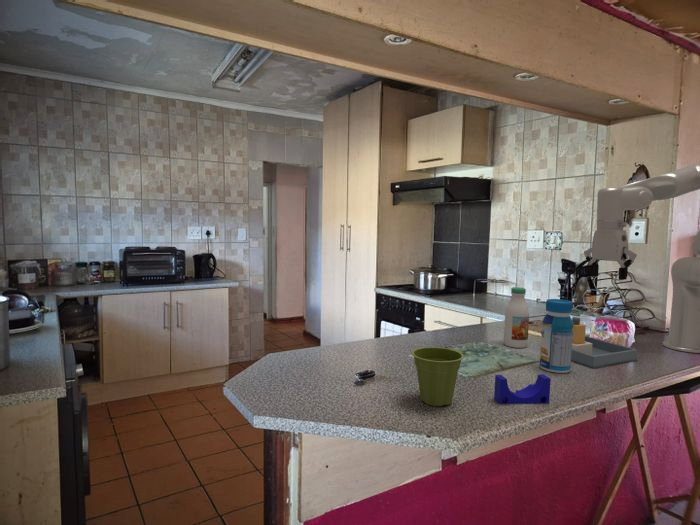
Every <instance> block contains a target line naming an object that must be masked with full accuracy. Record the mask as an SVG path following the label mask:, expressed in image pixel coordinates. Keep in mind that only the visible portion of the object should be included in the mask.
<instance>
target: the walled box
mask: <svg viewBox="0 0 700 525" xmlns="http://www.w3.org/2000/svg"><path fill="white" fill-rule="evenodd" d="M638 350H639V349H636V348H633V347H628V346H625V345H620V344H617V343H614V342H609V341H606V340H602V339H598V338H594V337H591V336H587V335H585V344H578V345H576V344H572V353H571V362H572V363H576V364H579V365H582V366H585V367H587V368H590V369H599V368H604V367H610V366H616V365H621V364H628V363H632V362H637V360H638Z"/></svg>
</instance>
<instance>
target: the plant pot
mask: <svg viewBox="0 0 700 525" xmlns="http://www.w3.org/2000/svg"><path fill="white" fill-rule="evenodd" d="M411 355H412V356H413V359H414V364H415V368H416V373H417V374H416V375H417V381H418V389H419V390H418V391H419V395H420V400H421V402H424V403H425V404H426V405H428V406H434V407H442V406H445V405H446V406H449V405H451V404H452V402H453V399H454V393H455V388H456V384H457V377H458V373H459V369H460V368H461V363H462V360H463V359H464V357H465V356H464V354H463V353H462V352H461V351H459V350H457V349H453V348H447V347H440V346H439V347H436V346H429V347H428V346H426V347H420V348H419V347H418V348H415V349H413V350H412V351H411Z"/></svg>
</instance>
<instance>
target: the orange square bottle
mask: <svg viewBox="0 0 700 525" xmlns="http://www.w3.org/2000/svg"><path fill="white" fill-rule="evenodd" d="M571 319H572V321H573V325H574V327H573V328H572V331H573V334H574V336H573V340H572V344H576V345H578V344H585V336H586V327H587V325H586V324H582V323H581V318H580V317H578V316H577V317H576V316H573V317H571Z"/></svg>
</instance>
